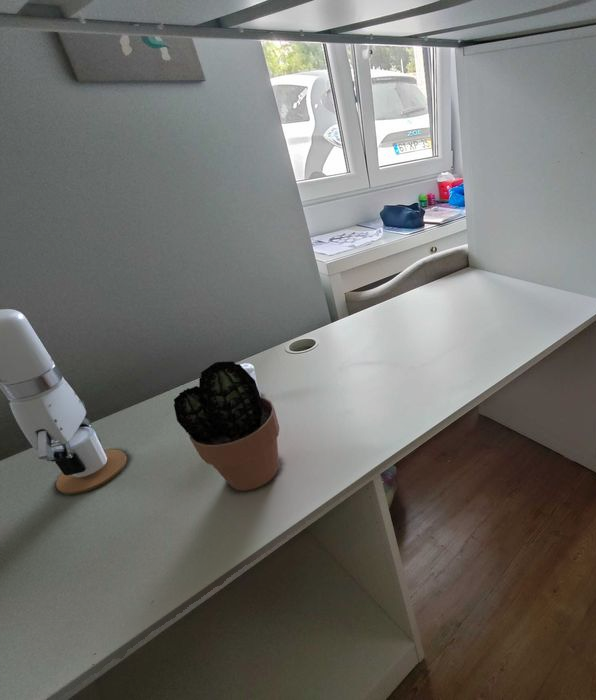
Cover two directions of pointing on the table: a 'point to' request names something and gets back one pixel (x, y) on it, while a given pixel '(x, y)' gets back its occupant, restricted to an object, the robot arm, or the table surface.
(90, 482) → the coaster
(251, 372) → the milkshake
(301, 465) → the table surface
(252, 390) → the potted plant
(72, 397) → the robot arm
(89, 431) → the white cylinder
